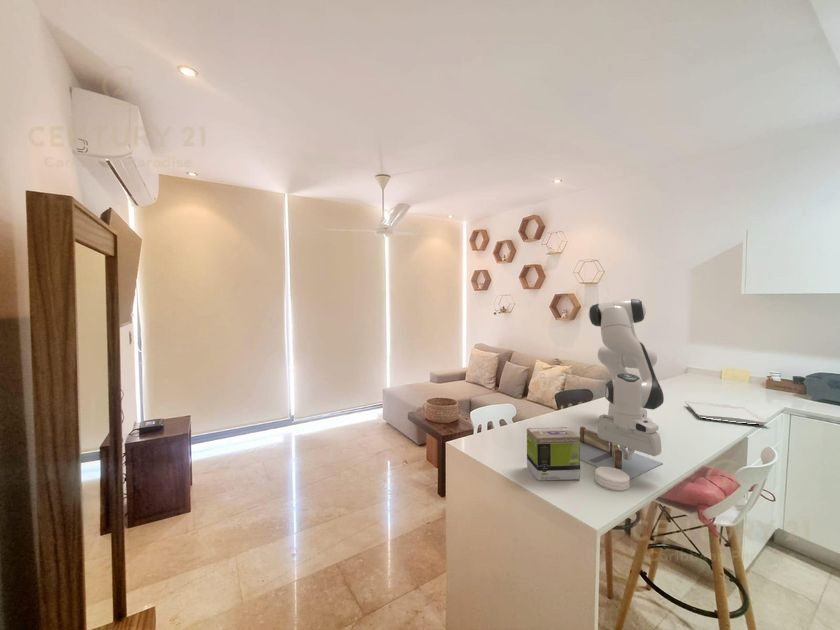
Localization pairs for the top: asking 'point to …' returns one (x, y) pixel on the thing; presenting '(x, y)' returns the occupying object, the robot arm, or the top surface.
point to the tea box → (553, 453)
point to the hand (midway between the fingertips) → (626, 459)
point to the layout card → (605, 459)
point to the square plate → (760, 420)
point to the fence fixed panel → (594, 439)
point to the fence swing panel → (617, 456)
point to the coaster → (612, 478)
